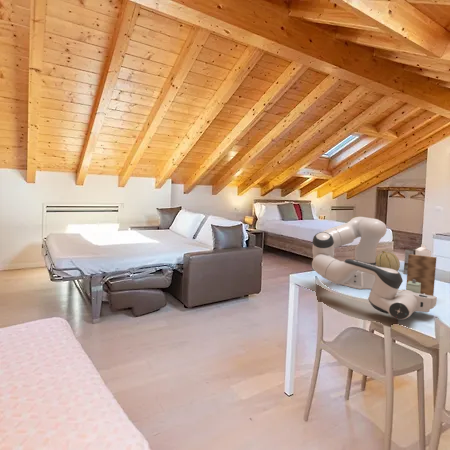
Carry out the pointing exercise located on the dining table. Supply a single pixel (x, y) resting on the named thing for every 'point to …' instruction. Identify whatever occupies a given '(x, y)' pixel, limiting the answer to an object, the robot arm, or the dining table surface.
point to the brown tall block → (422, 272)
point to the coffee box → (407, 252)
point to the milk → (423, 251)
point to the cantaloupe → (388, 261)
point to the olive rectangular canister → (414, 286)
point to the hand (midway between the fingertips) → (413, 292)
